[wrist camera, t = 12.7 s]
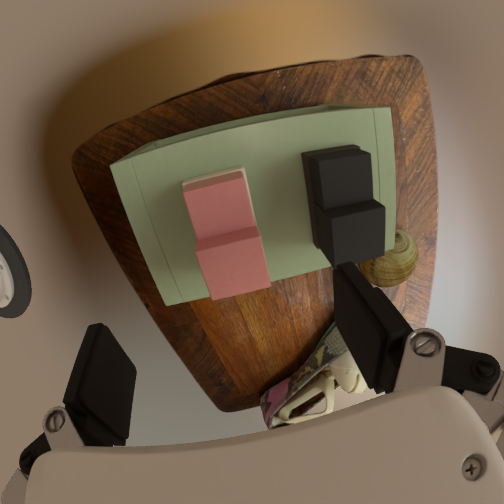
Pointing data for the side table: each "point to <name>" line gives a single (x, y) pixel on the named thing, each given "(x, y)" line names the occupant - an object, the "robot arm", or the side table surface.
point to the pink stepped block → (226, 233)
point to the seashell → (392, 262)
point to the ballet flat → (313, 383)
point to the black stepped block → (344, 204)
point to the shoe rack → (259, 182)
